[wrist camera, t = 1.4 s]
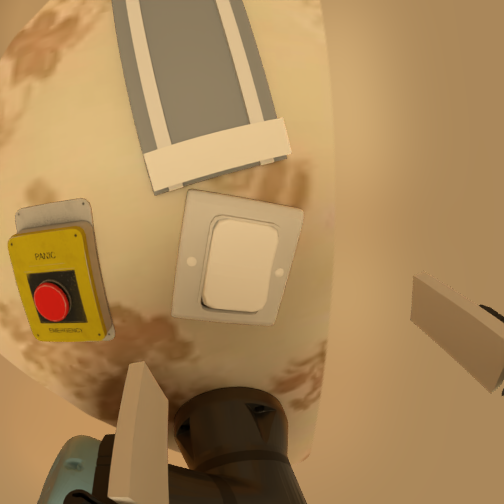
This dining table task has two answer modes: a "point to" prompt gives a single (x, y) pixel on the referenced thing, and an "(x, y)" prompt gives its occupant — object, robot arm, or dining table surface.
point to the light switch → (234, 258)
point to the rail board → (196, 90)
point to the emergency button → (60, 273)
